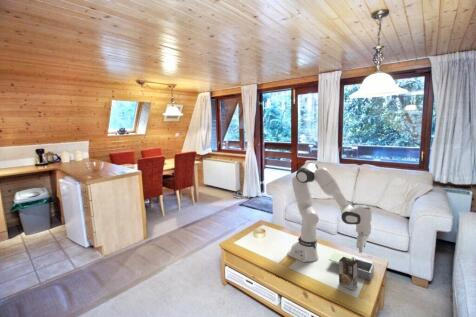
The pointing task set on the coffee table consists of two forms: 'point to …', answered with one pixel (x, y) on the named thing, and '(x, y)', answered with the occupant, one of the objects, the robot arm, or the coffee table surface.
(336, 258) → the lid
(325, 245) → the coffee table surface
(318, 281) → the coffee table surface
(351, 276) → the coffee box
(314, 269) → the coffee table surface
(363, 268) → the bin
